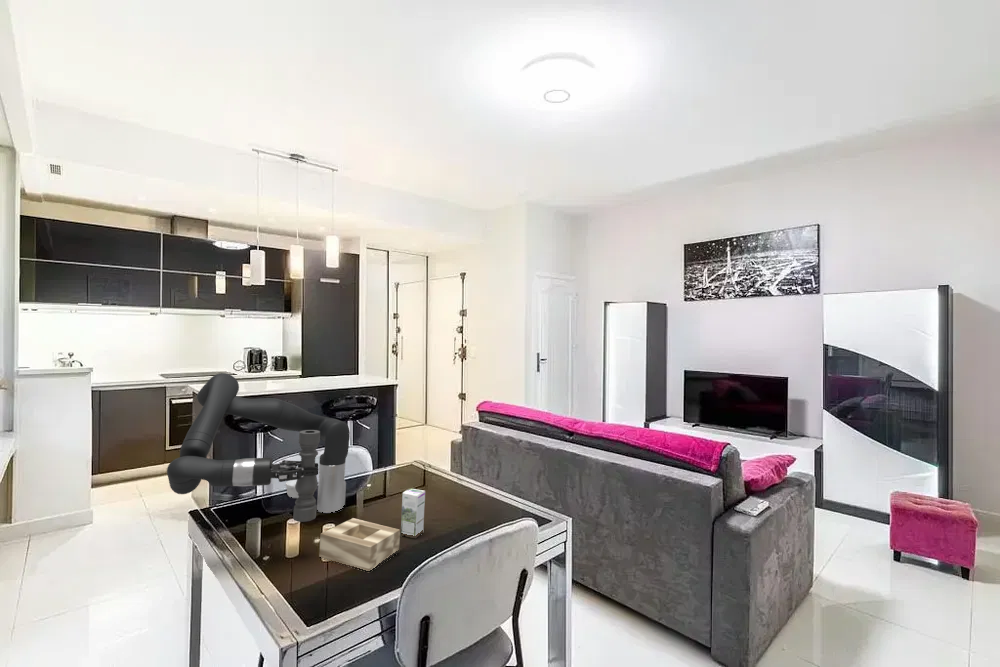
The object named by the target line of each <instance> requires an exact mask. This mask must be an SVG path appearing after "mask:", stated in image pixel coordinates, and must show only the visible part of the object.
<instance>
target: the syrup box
mask: <svg viewBox="0 0 1000 667" xmlns="http://www.w3.org/2000/svg"><path fill="white" fill-rule="evenodd" d="M401 498H402V502H401V522H400V524H401V525H400V534H401V533H403V534H407V535H413V536H416V535H417V534H418V533H420V532H421V531H422V530H423V531H424V520H425V502H426V490H422V489H418V488H417V489H416V488H408V489H406V490H405V491H403V492H402V497H401Z"/></svg>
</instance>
